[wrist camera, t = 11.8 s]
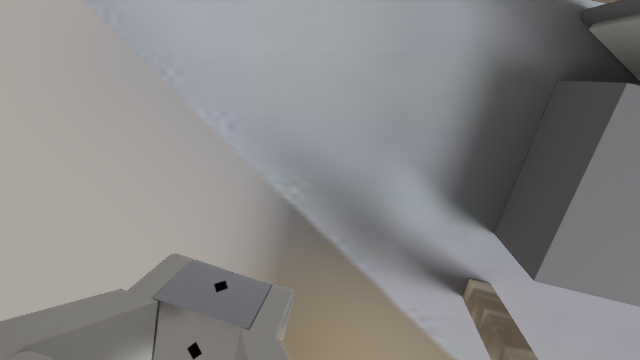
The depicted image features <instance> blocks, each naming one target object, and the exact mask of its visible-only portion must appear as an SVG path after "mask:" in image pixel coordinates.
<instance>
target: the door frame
mask: <svg viewBox="0 0 640 360" xmlns="http://www.w3.org/2000/svg"><path fill="white" fill-rule="evenodd" d="M593 1H598V2H603V3H610V2H614V1H617V0H593ZM462 298H463V300H464V302H465V304H466V306H467V308H468V310H469V313H470V315H471V317H472V319H473V321H474V323H475V326H476V328H477V330H478V332H479V334H480V336H481V339H482V341H483V343H484V345H485V347H486V349H487V352H488V354H489V356H490V358H491V360H538V359H537V357H536V355H535V354H534V352H533V351H532V349H531V347H530V346H529V344H528V343H527V341H526V339H525V338H524V336H523V335H522V333H521V332H520V330H519V328H518V327H517V325H516V324H515V322H514V320H513V319H512V317H511V316H510V314H509V312H508V311H507V309H506V308H505V306H504V304H503V303H502V301H501V300H500V298H499V296H498V295H497V293H496V292H495V290H494V288H493V287H492V285H491V284H489V283H485V282H481V281H477V280H472V279H469V280H468V283H467V285H466V288H465V290H464V293H463V296H462Z"/></svg>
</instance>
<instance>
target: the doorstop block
mask: <svg viewBox="0 0 640 360" xmlns="http://www.w3.org/2000/svg"><path fill="white" fill-rule="evenodd" d="M495 235H496V236H497V238H498V239H499V240H500V241H501V242H502V244H503V245H504V246H505V247H506V248H507V250H508V251H509V252H510V253H511V254H512V255H513V257H514V258H515V259H516V260H517V261H518V263H519V264H520V265H521V266H522V267H523V269H524V270H525V271H526V272H527V273H528V274H529V276H530V277H531V278H532V279H533V280H534V281H537V282H541V283H545V284H549V285H553V286H557V287H561V288H565V289H569V290H573V291H578V292H582V293H586V294H590V295H594V296H598V297H602V298H606V299H610V300H614V301H619V302H623V303H627V304H631V305H635V306H639V307H640V86H639V85H635V84H630V83H615V82H586V81H557V83H556V85H555V87H554V90H553V92H552V95H551V97H550V100H549V102H548V104H547V107H546V109H545V112H544V114H543V117H542V119H541V122H540V124H539V126H538V129H537V131H536V134H535V136H534V139H533V141H532V143H531V146H530V148H529V151H528V153H527V156H526V158H525V161H524V163H523V165H522V168H521V170H520V173H519V175H518V178H517V180H516V182H515V185H514V187H513V190H512V192H511V195H510V197H509V200H508V202H507V204H506V207H505V209H504V212H503V214H502V217H501V219H500V221H499V224H498V226H497V229H496V231H495Z"/></svg>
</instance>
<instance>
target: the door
mask: <svg viewBox="0 0 640 360" xmlns="http://www.w3.org/2000/svg"><path fill="white" fill-rule="evenodd" d="M582 19H583V21H584V22H585V23H588V24H589V23H594V22H595V23H594V24H593V25H592V26H591V27H590V28H589V30H590V31H591V32H592V33H593V34H594V35H595V36H596V37H597V38H598V39H599V40H600V41H601V42H602V43H603V44H604V45H605V46H606V47H607V48H608V49H609V50H610V51H611V52H612V53H613V55H614V56H615V57H616V58H617V59H618V60H619V61H620V62H621V63H622V64H623V65H624V66H625V67H626V68H627V69H628V70H629V71H630V72H631V73H632V74H633V75H634V76H635V77H636V78H637V79H638V80H639V81H640V0H618V1H614V2H611V3H607V4H604V5H600V6H597V7H593V8H590V9H587V10H586V11H585V12H584V13H583V16H582Z"/></svg>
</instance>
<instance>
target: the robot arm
mask: <svg viewBox="0 0 640 360" xmlns="http://www.w3.org/2000/svg"><path fill="white" fill-rule="evenodd" d="M293 298H294V290H293V289H290V288H286V287H282V286H278V285H275V284H274V285H273V284H269V283H266V282H263V281H259V280H256V279H253V278H249V277H246V276H243V275H239V274H236V273H234V272H231V271H228V270H225V269H222V268H219V267H216V266H213V265H210V264H207V263H204V262H201V261H198V260H194V259H192V258H189V257H185V256H182V255H179V254H171V255H169V256H168V257H167V258H166V259H165V260H163V261H162V262H161V263H160V264H159V265H157V266H156V267H155V268H154V269H153V270H152V271H150V272H149V273H148V274H147V275H146V276H144V277H143V278H142V279H141V280H140V281H138V282H137V283H136V284H135V285H134V286H133V287H131V288H130V289H129V290H128V291H126V290H122V289H119V290H115V291H111V292H107V293H104V294H100V295H97V296H93V297H89V298H85V299H82V300H78V301H75V302H70V303H67V304H63V305H59V306H56V307H52V308H48V309H45V310H41V311H37V312H34V313H30V314H26V315H22V316H19V317H15V318H12V319H8V320H4V321H0V360H288V357H287V355H286V352H285V349H284V346H283V343H282V340H283V336H284V332H285V329H286V325H287V321H288V317H289V313H290V309H291V305H292V301H293Z"/></svg>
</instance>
